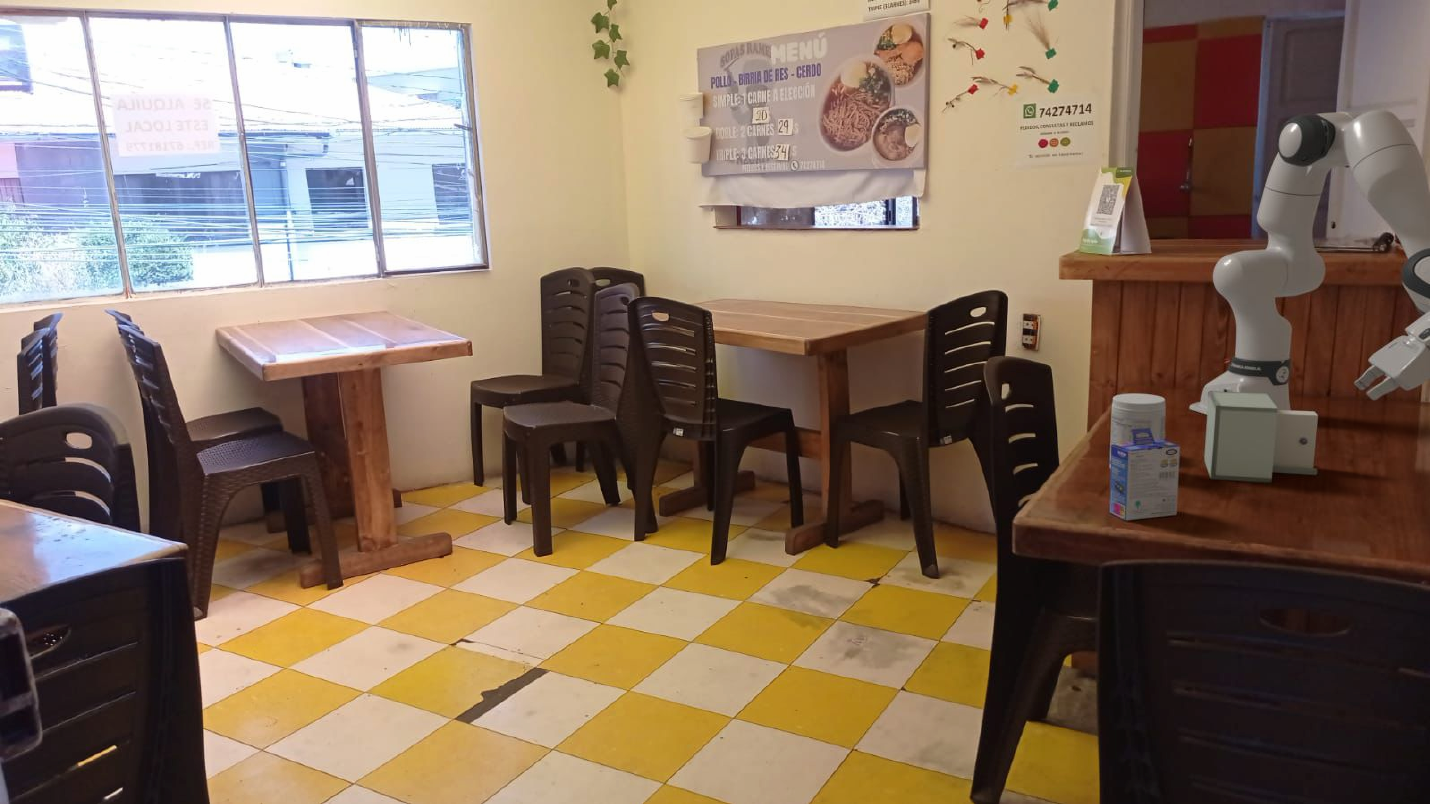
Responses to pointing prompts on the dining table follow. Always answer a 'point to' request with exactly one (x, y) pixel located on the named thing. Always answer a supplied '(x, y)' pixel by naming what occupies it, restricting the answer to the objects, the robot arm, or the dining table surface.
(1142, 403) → the supplement tub
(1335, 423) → the dining table surface
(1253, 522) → the dining table surface
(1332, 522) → the dining table surface
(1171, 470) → the ink cartridge box
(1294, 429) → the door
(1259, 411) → the cabinet
